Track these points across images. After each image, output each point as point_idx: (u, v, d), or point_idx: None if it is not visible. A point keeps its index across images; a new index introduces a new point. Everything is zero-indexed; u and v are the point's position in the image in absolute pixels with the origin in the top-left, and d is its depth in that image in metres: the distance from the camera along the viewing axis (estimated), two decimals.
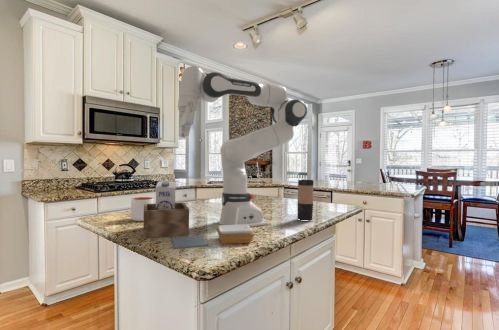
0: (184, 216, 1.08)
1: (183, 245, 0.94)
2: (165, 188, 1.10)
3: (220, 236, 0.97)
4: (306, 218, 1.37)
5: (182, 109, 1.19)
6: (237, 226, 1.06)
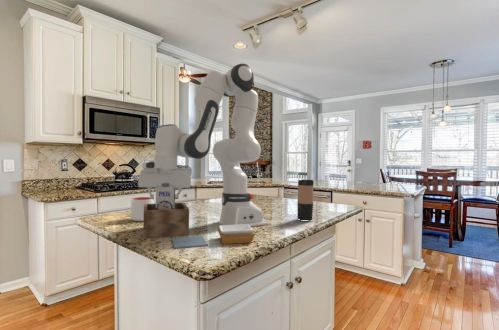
0: (184, 216, 1.08)
1: (183, 245, 0.94)
2: (165, 188, 1.10)
3: (221, 236, 0.97)
4: (306, 218, 1.37)
5: (170, 171, 1.11)
6: (238, 226, 1.07)
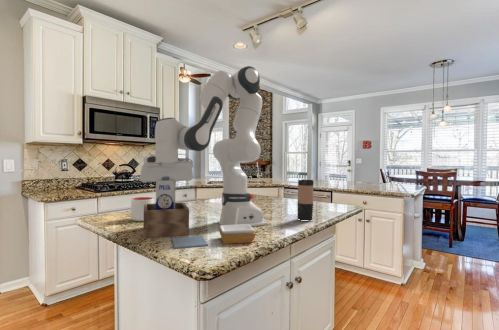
0: (184, 216, 1.08)
1: (183, 245, 0.94)
2: (165, 181, 1.10)
3: (222, 236, 0.97)
4: (306, 218, 1.37)
5: (172, 165, 1.11)
6: (239, 226, 1.07)
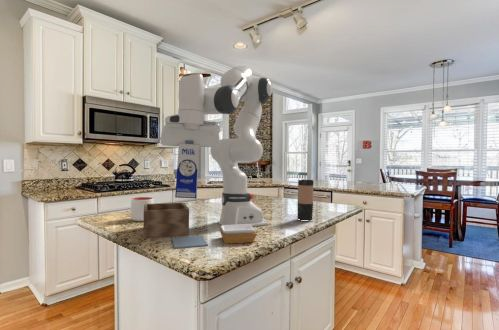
0: (184, 216, 1.08)
1: (183, 245, 0.94)
2: (189, 145, 0.95)
3: (223, 236, 0.97)
4: (306, 218, 1.37)
5: (197, 127, 0.97)
6: (240, 226, 1.07)
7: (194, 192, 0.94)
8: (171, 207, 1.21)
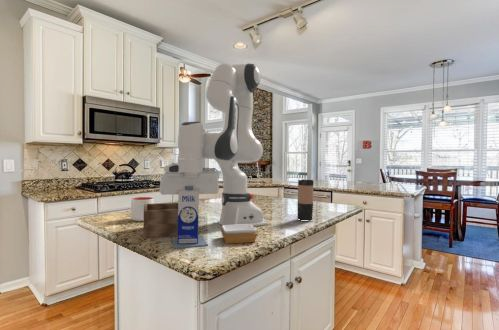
0: None
1: (183, 245, 0.94)
2: (189, 192, 0.95)
3: (224, 236, 0.98)
4: (306, 218, 1.37)
5: (196, 175, 0.97)
6: (240, 226, 1.07)
7: (196, 238, 0.96)
8: (171, 207, 1.21)
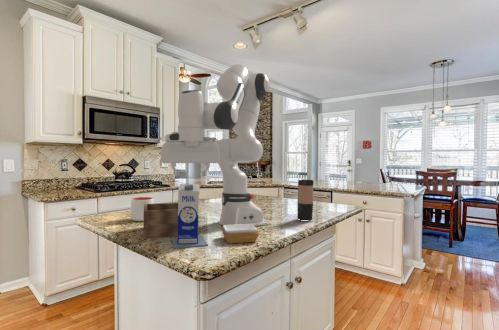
0: None
1: (183, 245, 0.94)
2: (189, 192, 0.95)
3: (226, 235, 0.98)
4: (306, 218, 1.37)
5: (197, 144, 0.97)
6: (241, 225, 1.07)
7: (196, 238, 0.96)
8: (171, 207, 1.21)
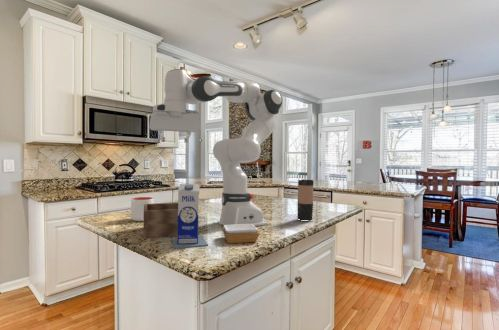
0: None
1: (183, 245, 0.94)
2: (189, 192, 0.95)
3: (226, 235, 0.98)
4: (306, 218, 1.37)
5: (180, 115, 1.16)
6: (242, 225, 1.08)
7: (196, 238, 0.96)
8: (171, 207, 1.21)
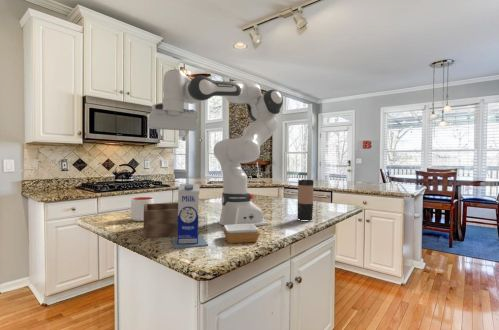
0: None
1: (183, 245, 0.94)
2: (189, 192, 0.95)
3: (227, 235, 0.98)
4: (306, 218, 1.37)
5: (178, 114, 1.19)
6: (242, 225, 1.08)
7: (196, 238, 0.96)
8: (171, 207, 1.21)
